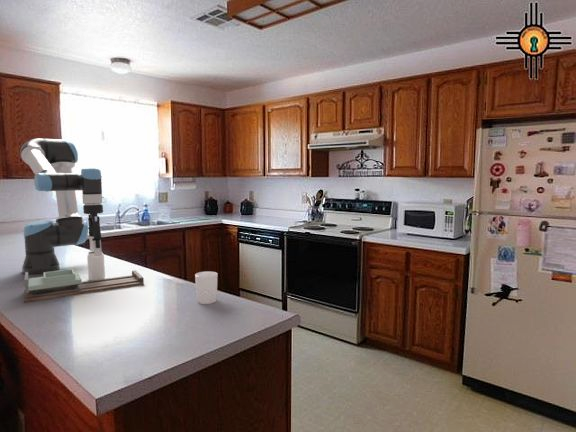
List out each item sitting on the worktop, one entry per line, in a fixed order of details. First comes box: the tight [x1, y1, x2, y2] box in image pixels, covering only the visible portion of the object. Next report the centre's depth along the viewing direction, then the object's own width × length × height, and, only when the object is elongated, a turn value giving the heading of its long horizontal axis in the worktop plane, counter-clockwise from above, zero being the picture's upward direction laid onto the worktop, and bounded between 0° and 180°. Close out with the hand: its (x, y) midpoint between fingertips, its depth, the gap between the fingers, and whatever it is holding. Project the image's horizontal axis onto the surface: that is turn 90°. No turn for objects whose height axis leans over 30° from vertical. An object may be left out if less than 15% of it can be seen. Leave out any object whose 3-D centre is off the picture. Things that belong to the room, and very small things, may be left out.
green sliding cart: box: [24, 268, 83, 294], centre depth 149 cm, size 13×18×6 cm
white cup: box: [194, 271, 218, 305], centre depth 139 cm, size 8×8×10 cm
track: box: [23, 269, 145, 303], centre depth 155 cm, size 15×41×3 cm, turn 123°
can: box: [86, 250, 106, 281], centre depth 169 cm, size 6×6×12 cm
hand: (95, 253), depth 168 cm, fingers open, 13 cm apart
